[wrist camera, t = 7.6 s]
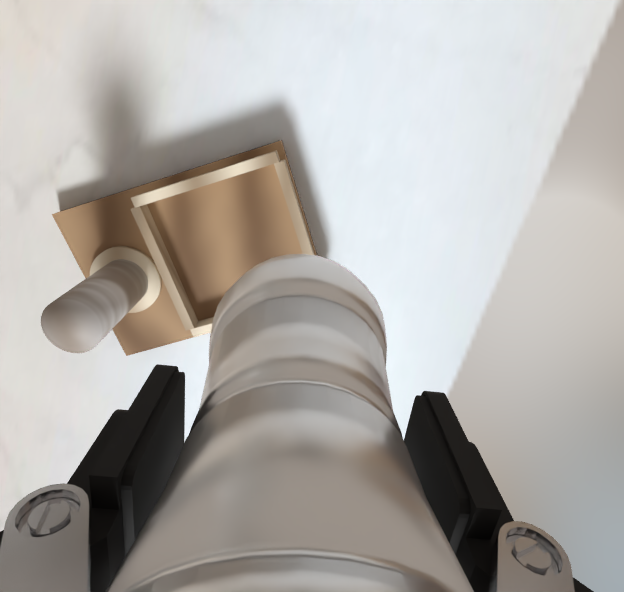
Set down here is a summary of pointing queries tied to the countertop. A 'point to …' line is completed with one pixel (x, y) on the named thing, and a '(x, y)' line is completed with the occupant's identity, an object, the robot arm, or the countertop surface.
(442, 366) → the countertop surface
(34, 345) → the countertop surface
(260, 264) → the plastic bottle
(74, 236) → the board
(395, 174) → the countertop surface
